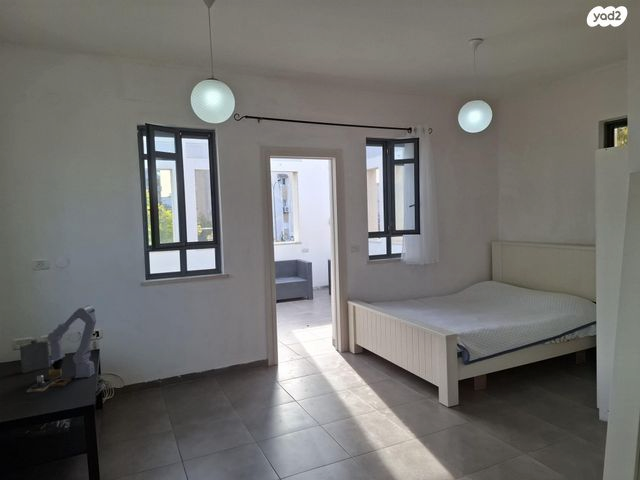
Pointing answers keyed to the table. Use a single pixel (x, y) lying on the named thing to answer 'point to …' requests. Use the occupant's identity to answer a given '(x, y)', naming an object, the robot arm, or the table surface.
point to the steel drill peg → (40, 379)
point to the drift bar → (49, 378)
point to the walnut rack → (60, 382)
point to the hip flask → (35, 356)
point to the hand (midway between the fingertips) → (57, 371)
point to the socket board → (38, 388)
